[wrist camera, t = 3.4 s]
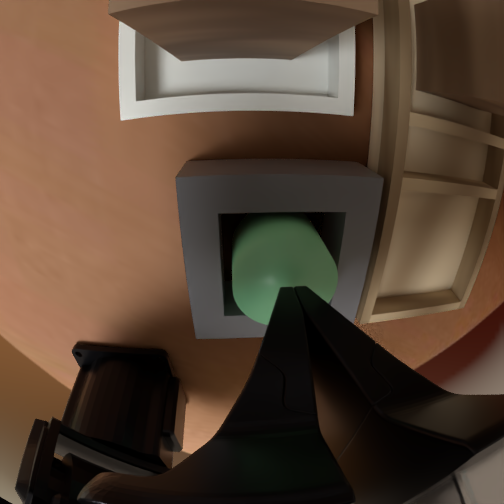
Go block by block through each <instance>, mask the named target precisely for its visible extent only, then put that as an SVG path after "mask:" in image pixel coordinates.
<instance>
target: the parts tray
mask: <svg viewBox="0 0 504 504" xmlns="http://www.w3.org/2000/svg"><path fill="white" fill-rule="evenodd" d="M354 91H355V26H353V27H351V28H349V29H347V30H345V31H343V32H341V33H339V34H337V35H336V36H334V37H332V38H330V39H328V40H326V41H324V42H322V43H321V44H319V45H317V46H315V47H313V48H312V49H310V50H308V51H306V52H305V53H303V54H301V55H299V56H298V57H296V58H294V59H293V60H284V59H256V58H236V59H208V60H193V61H180V60H179V59H177V58H176V57H174V56H173V55H172V54H170V53H169V52H167V51H166V50H164V49H163V48H161V47H160V46H158V45H157V44H155V43H154V42H152V41H151V40H149V39H148V38H146V37H145V36H143V35H142V34H140V33H139V32H137V31H135V30H134V29H132V28H131V27H129V26H127V25H126V24H124V23H122V22H121V21H119V98H120V116H121V120H128V119H135V118H143V117H151V116H160V115H170V114H181V113H195V112H213V111H293V112H311V113H325V114H336V115H346V116H353V113H354Z"/></svg>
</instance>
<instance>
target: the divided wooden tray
mask: <svg viewBox="0 0 504 504" xmlns="http://www.w3.org/2000/svg"><path fill="white" fill-rule="evenodd" d="M424 1H427V0H378V15H377V16H375V17H373V40H374V68H373V100H372V118H371V132H370V144H369V154H368V164H367V168H368V169H370V170H372V171H373V172H375V173H377V174H378V175H380V176H381V177H383V178H384V181H383V188H382V195H381V201H380V207H379V213H378V219H377V225H376V230H375V235H374V240H373V245H372V250H371V255H370V260H369V264H368V269H367V273H366V277H365V282H364V286H363V290H362V294H361V298H360V302H359V306H358V309H357V313H356V318H357V320H358V322H359V324H365V323H373V322H381V321H388V320H395V319H402V318H409V317H415V316H421V315H427V314H433V313H439V312H444V311H450V310H455V309H460V308H464V306H465V304H466V301H467V299H468V297H469V295H470V292H471V290H472V287H473V285H474V283H475V280H476V277H477V275H478V272H479V270H480V267H481V264H482V262H483V259H484V256H485V253H486V250H487V247H488V244H489V241H490V238H491V234H492V231H493V228H494V224H495V221H496V217H497V213H498V210H499V206H500V202H501V197H502V193H503V189H504V116H501V115H498V114H494V113H489V112H485V111H481V110H478V109H475V108H472V107H469V106H467V105H464V104H461V103H458V102H455V101H452V100H449V99H445V98H442V97H439V96H435V95H432V94H428V93H425V92H421V91H417V90H416V28H415V12H414V5H415V4H418V3H421V2H424Z"/></svg>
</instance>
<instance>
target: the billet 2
mask: <svg viewBox="0 0 504 504" xmlns="http://www.w3.org/2000/svg"><path fill="white" fill-rule="evenodd" d="M414 12H415V28H416V90H417V91H421V92H425V93H428V94H432V95H435V96H439V97H442V98H445V99H449V100H452V101H455V102H458V103H461V104H464V105H467V106H469V107H472V108H475V109H478V110H481V111H485V112H489V113H494V114H498V115H501V116H504V0H427V1H424V2H421V3H418V4H415V5H414Z"/></svg>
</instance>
